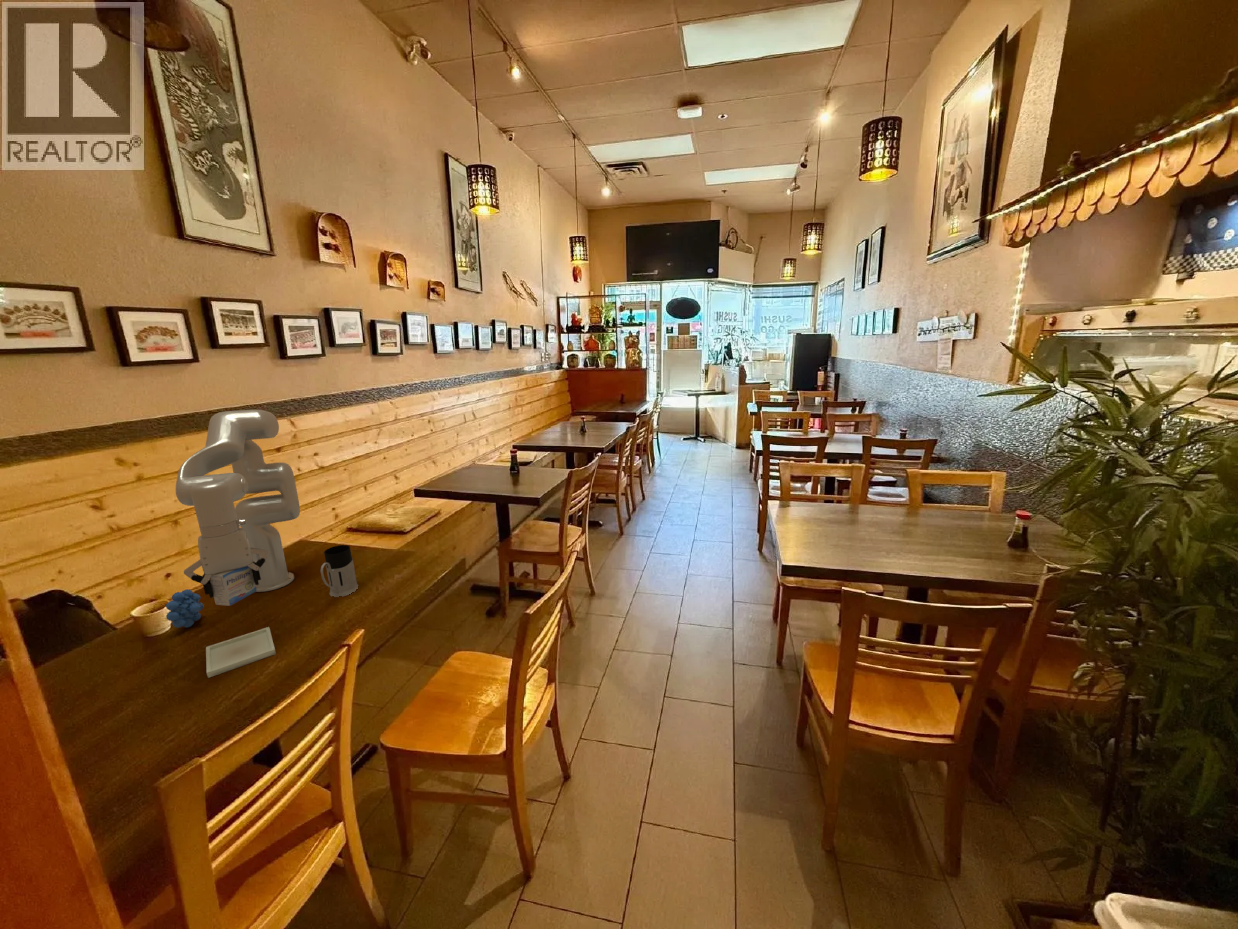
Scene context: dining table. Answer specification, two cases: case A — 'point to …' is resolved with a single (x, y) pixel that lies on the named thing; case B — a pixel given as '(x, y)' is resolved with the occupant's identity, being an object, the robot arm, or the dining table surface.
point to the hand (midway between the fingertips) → (234, 589)
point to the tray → (239, 651)
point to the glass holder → (339, 571)
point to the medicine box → (232, 585)
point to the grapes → (184, 608)
